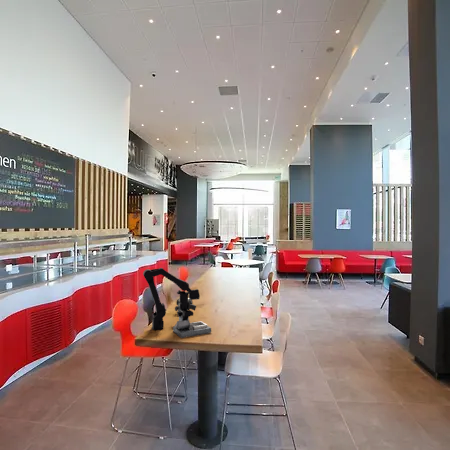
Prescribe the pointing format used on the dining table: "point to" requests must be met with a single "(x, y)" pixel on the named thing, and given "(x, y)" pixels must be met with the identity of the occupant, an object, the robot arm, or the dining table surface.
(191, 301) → the pneumatic valve
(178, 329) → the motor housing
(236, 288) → the dining table surface
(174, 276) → the robot arm
